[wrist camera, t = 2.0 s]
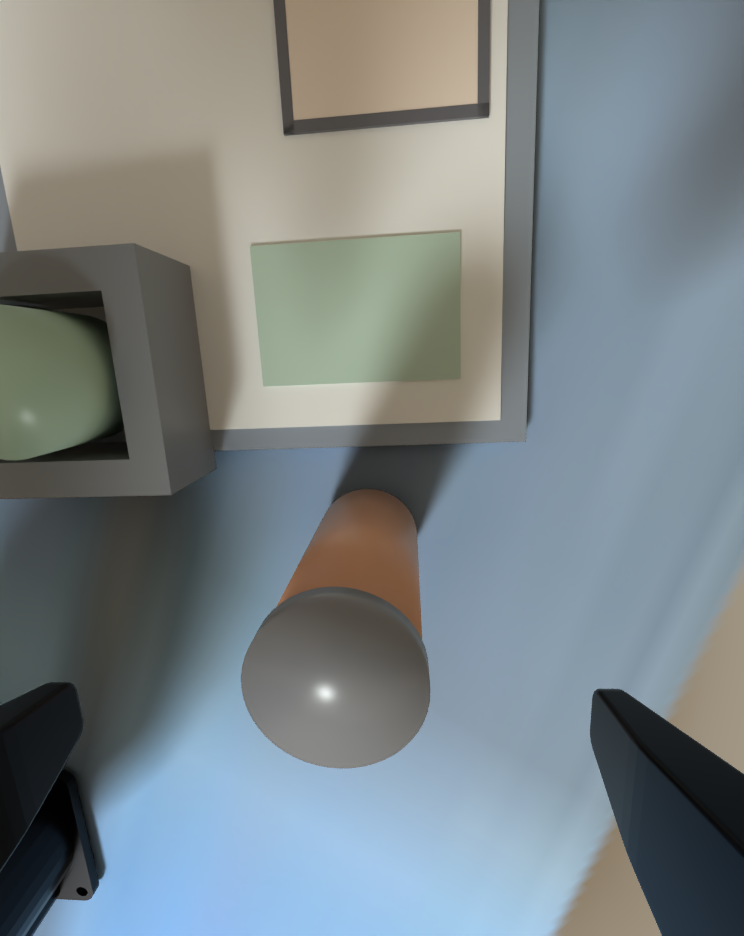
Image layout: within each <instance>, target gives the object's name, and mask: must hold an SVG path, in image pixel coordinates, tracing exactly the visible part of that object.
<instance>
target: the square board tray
mask: <svg viewBox="0 0 744 936" xmlns="http://www.w3.org/2000/svg"><path fill="white" fill-rule="evenodd" d="M538 28H539V0H0V304H2V305H10V306H18V307H26V308H34V309H42V310H50V311H58V312H66V313H73V314H81V315H88V316H92V317H95V318H98V319H100V320H103V321H105V322H107V328H108V334H109V340H110V346H111V352H112V358H113V364H114V370H115V376H116V382H117V388H118V394H119V400H120V406H121V412H122V417H123V423H124V430H122V431H121V432H119V433H117V434H115V435H113V436H110V437H107V438H103V439H99V440H96V441H92V442H88V443H85V444H81V445H77V446H73V447H70V448H66V449H62V450H59V451H55V452H51V453H48V454H44V455H40V456H36V457H33V458H29V459H25V460H3V459H0V499H20V498H66V497H111V496H157V495H173V494H174V493H176V492H178V491H179V490H181V489H183V488H185V487H186V486H188V485H190V484H191V483H193V482H195V481H196V480H198V479H200V478H202V477H203V476H205V475H207V474H208V473H210V472H212V471H214V470H215V469H216V462H215V454H214V451H228V450H261V449H294V448H327V447H361V446H394V445H427V444H460V443H494V442H526V423H527V390H528V358H529V325H530V292H531V259H532V226H533V193H534V160H535V127H536V94H537V61H538Z"/></svg>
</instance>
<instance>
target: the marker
mask: <svg viewBox="0 0 744 936" xmlns="http://www.w3.org/2000/svg"><path fill="white" fill-rule="evenodd" d="M241 685H242V693H243V698H244V701H245V704H246V707H247V710H248V712H249V713H250V715H251V717H252V719H253V721H254V722H255V724H256V725H257V727H258V728H259V729H260V730H261V732H262V733H263V734H264V735H265V736H266V737H267V738H268V739H269V740H270V741H271V742H272V743H273V744H275V745H276V746H277V747H279V748H280V749H282V750H283V751H284V752H286V753H288V754H290V755H292V756H293V757H295V758H298V759H300V760H303V761H305V762H308V763H311V764H315V765H319V766H324V767H330V768H356V767H363V766H367V765H371V764H375V763H377V762H380V761H382V760H385V759H387V758H389V757H390V756H392V755H394V754H396V753H397V752H398V751H400V750H401V749H403V748H404V747H405V746H406V745H407V744H408V743H409V742H410V741H411V740H412V739H413V738H414V736H415V735H416V734H417V733H418V731H419V729H420V728H421V726H422V724H423V722H424V720H425V717H426V715H427V712H428V707H429V703H430V679H429V665H428V657H427V653H426V649H425V646H424V644H423V641H422V627H421V607H420V586H419V565H418V544H417V529H416V525H415V521H414V519H413V516H412V515H411V513H410V511H409V510H408V508H407V507H406V506H405V505H404V504H403V503H402V502H401V501H400V500H398V499H397V498H396V497H394V496H392V495H391V494H388V493H386V492H383V491H380V490H375V489H360V490H355V491H352V492H349V493H347V494H345V495H343V496H341V497H340V498H338V499H337V500H336V501H335V502H334V503H332V505H331V506H330V507H329V508H328V510H327V512H326V513H325V515H324V517H323V519H322V521H321V523H320V525H319V527H318V529H317V530H316V532H315V534H314V536H313V538H312V540H311V542H310V544H309V546H308V548H307V550H306V551H305V553H304V555H303V557H302V559H301V561H300V563H299V565H298V567H297V569H296V571H295V572H294V574H293V576H292V578H291V580H290V582H289V584H288V586H287V588H286V590H285V592H284V593H283V595H282V597H281V599H280V601H279V603H278V605H277V607H276V608H275V609H274V610H272V611H271V613H270V614H269V615H268V616H267V617H266V618H265V620H264V621H263V623H262V625H261V626H260V628H259V630H258V631H257V633H256V635H255V637H254V639H253V641H252V642H251V644H250V646H249V648H248V651H247V653H246V655H245V658H244V662H243V666H242V674H241Z"/></svg>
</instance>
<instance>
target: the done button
mask: <svg viewBox="0 0 744 936" xmlns="http://www.w3.org/2000/svg"><path fill="white" fill-rule="evenodd" d="M122 430H124V423H123V417H122V412H121V406H120V400H119V394H118V388H117V382H116V376H115V370H114V364H113V358H112V352H111V346H110V340H109V334H108V328H107V322H105V321H103V320H100V319H98V318H95V317H92V316H88V315H81V314H73V313H66V312H58V311H50V310H42V309H34V308H26V307H18V306H10V305H2V304H0V459H3V460H25V459H29V458H33V457H36V456H40V455H44V454H48V453H51V452H55V451H59V450H62V449H66V448H70V447H73V446H77V445H81V444H85V443H88V442H92V441H96V440H99V439H103V438H107V437H110V436H113V435H115V434H117V433H119V432H121V431H122Z"/></svg>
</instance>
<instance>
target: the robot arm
mask: <svg viewBox="0 0 744 936" xmlns="http://www.w3.org/2000/svg"><path fill="white" fill-rule="evenodd" d="M82 729H83V717H82V712H81V707H80V703H79V698H78V693H77V689H76V687H75V686H74V685H73V684H72V683H67V682H51V683H47V684H44V685H42V686H40V687H38V688H36V689H34V690H32V691H30V692H28V693H26V694H24V695H21V696H19V697H17V698H15V699H13V700H11V701H9V702H7V703H5V704H3V705H1V706H0V936H33V934H34V933H35V931H36V929H37V928H38V926H39V925H40V923H41V922H42V920H43V919H44V917H45V916H46V914H47V913H48V911H49V909H50V908H51V906H52V905H53V903H54V902H55V900H56V899H68V900H89V899H91V898H92V896H93V894H94V893H95V891H96V889H97V888H98V886H99V881H98V877H97V872H96V868H95V864H94V859H93V855H92V851H91V846H90V842H89V838H88V833H87V829H86V825H85V820H84V816H83V812H82V807H81V803H80V799H79V794H78V790H77V786H76V781H75V778H74V776H73V775H72V774H71V773H70V772H68V771H66V770H62V768H63V767H64V765H65V763H66V761H67V759H68V758H69V756H70V754H71V752H72V750H73V749H74V747H75V745H76V743H77V741H78V740H79V738H80V736H81V733H82ZM590 738H591V744H592V748H593V751H594V754H595V757H596V760H597V763H598V766H599V769H600V773H601V776H602V779H603V782H604V785H605V788H606V791H607V794H608V797H609V800H610V803H611V806H612V810H613V813H614V816H615V819H616V822H617V825H618V828H619V831H620V834H621V837H622V840H623V843H624V846H625V848H626V851H627V854H628V857H629V859H630V862H631V864H632V866H633V869H634V872H635V874H636V876H637V879H638V881H639V883H640V886H641V888H642V890H643V892H644V895H645V897H646V899H647V902H648V904H649V906H650V909H651V911H652V913H653V916H654V918H655V920H656V923H657V925H658V927H659V930H660V932H661V934H662V936H744V774H743V773H741V772H740V771H738V770H737V769H736V768H734V767H733V766H731V765H730V764H728V763H727V762H725V761H724V760H723V759H721V758H720V757H718V756H717V755H715V754H714V753H713V752H711V751H710V750H708V749H707V748H705V747H704V746H702V745H701V744H699V743H698V742H697V741H695V740H694V739H692V738H691V737H689V736H688V735H686V734H685V733H684V732H682V731H681V730H679V729H678V728H676V727H675V726H674V725H672V724H671V723H669V722H668V721H666V720H665V719H664V718H662V717H661V716H659V715H658V714H656V713H655V712H653V711H652V710H651V709H649V708H648V707H646V706H645V705H643V704H642V703H640V702H639V701H638V700H636V699H635V698H633V697H632V696H630V695H629V694H628V693H626V692H624V691H623V690H620V689H597V690H596V691H594V694H593V698H592V711H591V725H590Z"/></svg>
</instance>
